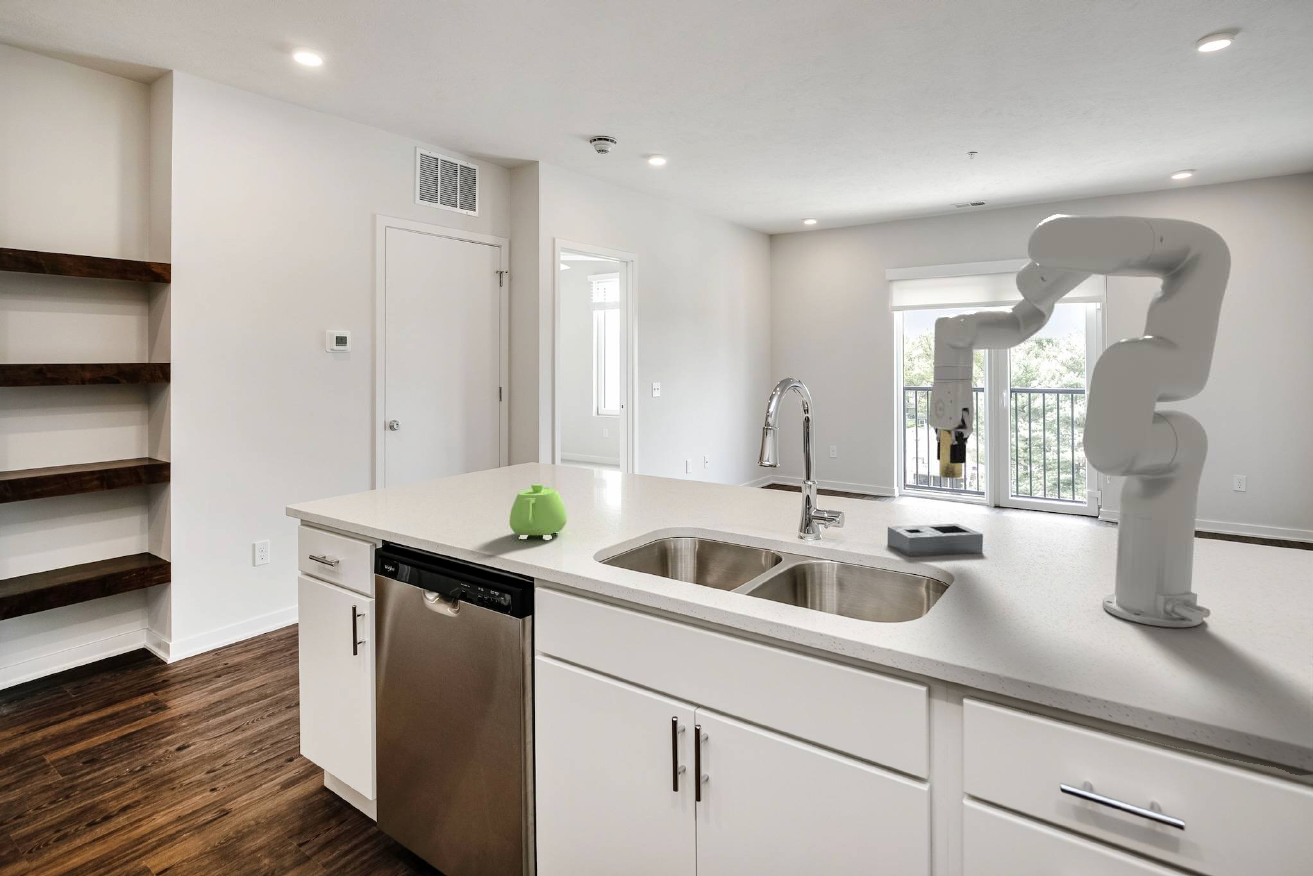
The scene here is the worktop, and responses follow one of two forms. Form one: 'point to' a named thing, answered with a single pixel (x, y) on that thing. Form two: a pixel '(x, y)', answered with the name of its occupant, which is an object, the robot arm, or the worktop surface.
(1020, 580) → the worktop surface
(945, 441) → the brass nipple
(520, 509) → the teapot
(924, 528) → the block
